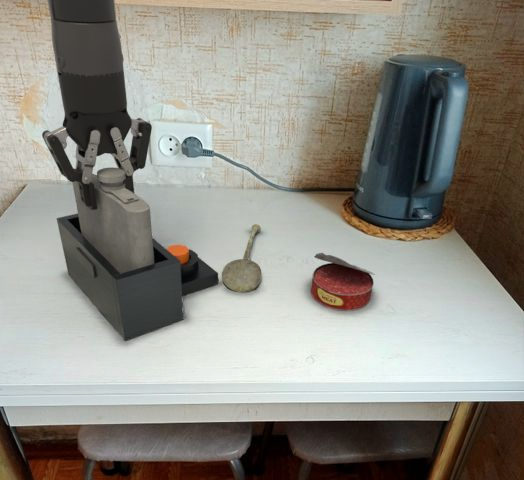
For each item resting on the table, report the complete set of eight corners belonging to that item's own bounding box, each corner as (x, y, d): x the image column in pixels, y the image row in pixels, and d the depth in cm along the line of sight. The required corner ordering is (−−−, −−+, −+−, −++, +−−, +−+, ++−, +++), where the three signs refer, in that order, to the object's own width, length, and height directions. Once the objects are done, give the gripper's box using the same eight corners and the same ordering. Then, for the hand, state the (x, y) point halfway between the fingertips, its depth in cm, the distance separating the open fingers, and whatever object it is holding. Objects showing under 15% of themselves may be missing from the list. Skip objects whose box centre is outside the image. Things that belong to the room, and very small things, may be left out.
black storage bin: (123, 341, 71) (114, 280, 65) (66, 275, 83) (54, 218, 77) (183, 319, 76) (180, 260, 70) (121, 259, 88) (114, 205, 82)
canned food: (306, 311, 87) (295, 253, 85) (358, 297, 90) (349, 240, 87) (334, 320, 77) (322, 255, 74) (392, 304, 79) (383, 240, 77)
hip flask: (86, 282, 82) (63, 157, 69) (108, 274, 84) (90, 151, 72) (145, 327, 74) (131, 194, 61) (168, 316, 76) (159, 186, 64)
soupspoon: (217, 292, 83) (257, 299, 83) (218, 275, 81) (259, 282, 81) (240, 228, 100) (273, 234, 99) (241, 213, 97) (275, 218, 97)
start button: (173, 267, 80) (173, 257, 79) (162, 257, 83) (161, 248, 81) (193, 261, 82) (193, 251, 81) (181, 252, 84) (181, 242, 83)
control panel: (170, 300, 80) (168, 278, 77) (140, 272, 85) (138, 251, 83) (218, 284, 84) (218, 263, 81) (186, 258, 90) (186, 238, 87)
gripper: (131, 54, 65) (143, 185, 76) (16, 61, 58) (47, 204, 69) (160, 66, 61) (168, 203, 71) (39, 76, 53) (68, 226, 64)
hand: (109, 203), depth 70 cm, fingers closed on hip flask, 4 cm apart
